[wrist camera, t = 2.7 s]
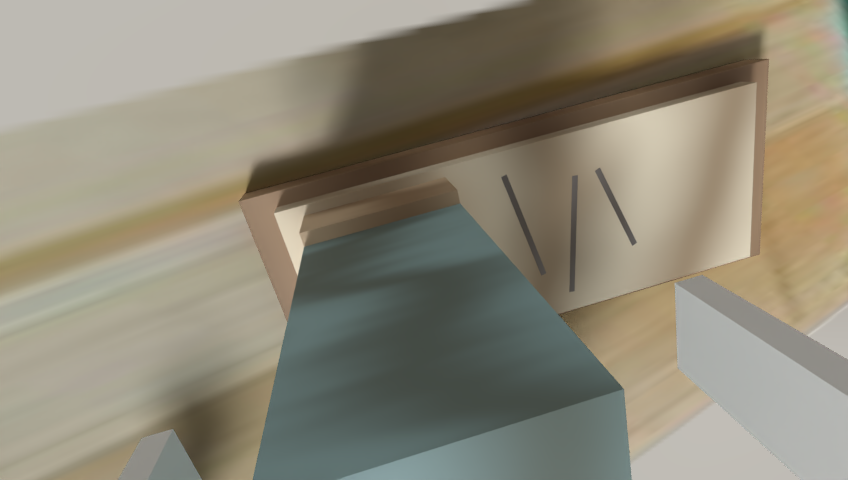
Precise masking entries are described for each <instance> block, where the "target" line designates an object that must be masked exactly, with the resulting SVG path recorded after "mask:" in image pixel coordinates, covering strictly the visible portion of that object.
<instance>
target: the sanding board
mask: <svg viewBox="0 0 848 480" xmlns="http://www.w3.org/2000/svg"><path fill="white" fill-rule="evenodd" d="M768 68H769V59H755V60H742V61H739V62H735V63H731V64H728V65H724V66H720V67H716V68H713V69H709V70H705V71H701V72H698V73H694V74H690V75H686V76H683V77H679V78H675V79H671V80H668V81H664V82H660V83H657V84H653V85H649V86H645V87H642V88H638V89H634V90H630V91H627V92H623V93H619V94H615V95H612V96H608V97H604V98H600V99H597V100H593V101H589V102H585V103H582V104H578V105H574V106H571V107H567V108H563V109H559V110H556V111H552V112H548V113H544V114H541V115H537V116H533V117H529V118H526V119H522V120H518V121H514V122H511V123H507V124H503V125H499V126H496V127H492V128H488V129H485V130H481V131H477V132H473V133H470V134H466V135H462V136H458V137H455V138H451V139H447V140H443V141H440V142H436V143H432V144H428V145H425V146H421V147H417V148H413V149H410V150H406V151H402V152H399V153H395V154H391V155H387V156H384V157H380V158H376V159H372V160H369V161H365V162H361V163H357V164H354V165H350V166H346V167H342V168H339V169H335V170H331V171H327V172H324V173H320V174H316V175H313V176H309V177H305V178H301V179H298V180H294V181H290V182H286V183H283V184H279V185H275V186H271V187H268V188H264V189H260V190H256V191H253V192H249V193H245V194H244V195H243V197H242V198H241V199H240V200H239V203H240V206H241V208H242V211H243V213H244V216H245V218H246V221H247V223H248V226H249V228H250V231H251V233H252V236H253V238H254V241H255V243H256V246H257V248H258V251H259V253H260V255H261V258H262V260H263V263H264V265H265V268H266V270H267V273H268V275H269V278H270V280H271V283H272V285H273V288H274V290H275V293H276V295H277V298H278V300H279V302H280V305H281V307H282V310H283V312H284V315H285V317H286V320H287V322H288V317H289V313H290V308H291V304H292V299H293V295H294V290H295V286H296V281H297V277H298V272H299V267H300V263H301V258H302V254H303V249H304V245H303V243H302V240H301V237H300V234H299V232H300V228H301V225H302V221H303V217H304V216H305V215H309V214H312V213H316V212H319V211H323V210H327V209H330V208H334V207H338V206H341V205H345V204H349V203H352V202H356V201H360V200H363V199H367V198H371V197H374V196H378V195H382V194H385V193H389V192H393V191H396V190H400V189H404V188H407V187H411V186H415V185H418V184H422V183H426V182H429V181H433V180H437V179H440V178H444V177H446V178H447V179H448V181H449V182H450V183H451V184H452V185H453V186H454V187H455V188H456V189H457V191H458V195H459V200H460V204H461V205H462V206H463V207H464V208H465V209H466V210H467V212H468V213H469V214H470V215H471V216H472V217H473V218H474V220H475V221H476V222H477V223H478V224H479V225H480V226H481V228H482V229H483V230H484V231H485V232H486V233H487V234H488V235H489V237H490V238H491V239H492V240H493V241H494V242H495V243H496V245H497V246H498V247H499V248H500V249H501V250H502V251H503V252H504V254H505V255H506V256H507V257H508V258H509V259H510V260H511V262H512V263H513V264H514V265H515V266H516V267H517V268H518V270H519V271H520V272H521V273H522V274H523V275H524V276H525V277H526V279H527V280H528V281H529V282H530V283H531V284H532V285H533V287H534V288H535V289H536V290H537V291H538V292H539V293H540V295H541V296H542V297H543V298H544V299H545V300H546V301H547V302H548V304H549V305H550V306H551V307H552V308H553V309H554V310H555V312H556V313H557V314H558V315H559V314H562V313H566V312H569V311H572V310H576V309H579V308H582V307H586V306H589V305H592V304H596V303H599V302H602V301H606V300H609V299H612V298H616V297H619V296H622V295H626V294H629V293H632V292H636V291H639V290H642V289H646V288H649V287H652V286H656V285H659V284H662V283H666V282H669V281H672V280H676V279H679V278H682V277H686V276H689V275H692V274H696V273H699V272H702V271H706V270H709V269H712V268H716V267H719V266H722V265H726V264H729V263H732V262H736V261H739V260H742V259H746V258H749V257H752V256H756V255H759V254H760V236H761V215H762V194H763V173H764V152H765V131H766V110H767V89H768Z"/></svg>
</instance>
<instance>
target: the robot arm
mask: <svg viewBox="0 0 848 480" xmlns="http://www.w3.org/2000/svg"><path fill="white" fill-rule="evenodd" d="M675 301H676V332H677V362H678V369H679V370H680V371H682V372H683V373H684V374H685V375H686V376H687V377H688V378H689V379H690V380H691V381H693V382H694V383H695V384H696V385H697V386H698V387H699V388H700V389H701V390H702V391H704V392H705V393H706V394H707V395H708V396H709V397H710V398H711V399H712V400H713V401H715V402H716V403H717V404H718V405H719V406H720V407H721V408H722V409H723V410H725V411H726V412H727V413H728V414H729V415H730V416H731V417H732V418H733V419H734V420H735V421H737V422H738V423H739V424H740V425H741V426H742V427H743V428H744V429H745V430H747V431H748V432H749V433H750V434H751V435H752V436H753V437H754V438H755V439H756V440H758V441H759V442H760V443H761V444H762V445H763V446H764V447H765V448H766V449H767V450H769V451H770V452H771V453H772V454H773V455H774V456H775V457H776V458H777V459H778V460H779V461H781V462H782V463H783V464H784V465H785V466H786V467H787V468H788V469H789V470H790V471H792V472H793V473H794V474H795V475H796V476H797V477H798V478H799V479H800V480H848V360H847V359H846V358H844V357H842V356H841V355H839V354H837V353H836V352H834V351H832V350H830V349H829V348H827V347H825V346H824V345H822V344H820V343H818V342H817V341H815V340H813V339H811V338H810V337H808V336H806V335H805V334H803V333H801V332H799V331H798V330H796V329H794V328H793V327H791V326H789V325H787V324H786V323H784V322H782V321H781V320H779V319H777V318H775V317H774V316H772V315H770V314H768V313H767V312H765V311H763V310H762V309H760V308H758V307H756V306H755V305H753V304H751V303H750V302H748V301H746V300H744V299H743V298H741V297H739V296H738V295H736V294H734V293H732V292H731V291H729V290H727V289H726V288H724V287H722V286H720V285H719V284H717V283H715V282H713V281H712V280H710V279H708V278H707V277H705V276H703V275H701V276H697V277H694V278H690V279H687V280H683V281H680V282H677V283H675ZM118 480H202V479H201V477H200V475H199V474H198V472H197V470H196V468H195V467H194V465H193V463H192V461H191V460H190V458H189V456H188V454H187V453H186V451H185V449H184V447H183V445H182V444H181V442H180V440H179V438H178V437H177V435H176V433H175V431H174V430H173V429H171V430H167V431H164V432H160V433H157V434H154V435H150V436H147V437H143V438H141V440H140V442H139V444H138V445H137V447H136V449H135V451H134V452H133V454H132V456H131V458H130V460H129V461H128V463H127V465H126V467H125V468H124V470H123V472H122V474H121V475H120V477H119V479H118Z"/></svg>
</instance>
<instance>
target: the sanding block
mask: <svg viewBox="0 0 848 480" xmlns="http://www.w3.org/2000/svg"><path fill="white" fill-rule="evenodd" d="M299 234H300V237H301V240H302V243H303V245H304V249H303V254H302V258H301V263H300V267H299V272H298V277H297V281H296V286H295V290H294V295H293V299H292V304H291V308H290V313H289V317H288V322H287V327H286V331H285V336H284V340H283V345H282V349H281V354H280V358H279V363H278V367H277V372H276V377H275V381H274V386H273V390H272V395H271V399H270V404H269V408H268V413H267V417H266V422H265V427H264V431H263V436H262V440H261V445H260V449H259V454H258V458H257V463H256V467H255V472H254V477H253V480H632V479H631V467H630V456H629V444H628V432H627V420H626V409H625V397H624V389H623V388H622V386H621V385H620V384H619V383H618V382H617V381H616V380H615V379H614V377H613V376H612V375H611V374H610V373H609V372H608V371H607V369H606V368H605V367H604V366H603V365H602V364H601V363H600V361H599V360H598V359H597V358H596V357H595V356H594V355H593V354H592V352H591V351H590V350H589V349H588V348H587V347H586V346H585V344H584V343H583V342H582V341H581V340H580V339H579V338H578V337H577V335H576V334H575V333H574V332H573V331H572V330H571V329H570V327H569V326H568V325H567V324H566V323H565V322H564V321H563V319H562V318H561V317H560V316H559V315H558V314H557V313H556V312H555V310H554V309H553V308H552V307H551V306H550V305H549V304H548V302H547V301H546V300H545V299H544V298H543V297H542V296H541V295H540V293H539V292H538V291H537V290H536V289H535V288H534V287H533V285H532V284H531V283H530V282H529V281H528V280H527V279H526V277H525V276H524V275H523V274H522V273H521V272H520V271H519V270H518V268H517V267H516V266H515V265H514V264H513V263H512V262H511V260H510V259H509V258H508V257H507V256H506V255H505V254H504V252H503V251H502V250H501V249H500V248H499V247H498V246H497V245H496V243H495V242H494V241H493V240H492V239H491V238H490V237H489V235H488V234H487V233H486V232H485V231H484V230H483V229H482V228H481V226H480V225H479V224H478V223H477V222H476V221H475V220H474V218H473V217H472V216H471V215H470V214H469V213H468V212H467V210H466V209H465V208H464V207H463V206H462V205H461V204H460V200H459V195H458V191H457V189H456V188H455V187H454V186H453V185H452V184H451V183H450V182H449V181H448V179H447V178H446V177H444V178H440V179H437V180H433V181H429V182H426V183H422V184H418V185H415V186H411V187H407V188H404V189H400V190H396V191H393V192H389V193H385V194H382V195H378V196H374V197H371V198H367V199H363V200H360V201H356V202H352V203H349V204H345V205H341V206H338V207H334V208H330V209H327V210H323V211H319V212H316V213H312V214H309V215H305V216H304V217H303V221H302V225H301V228H300V232H299Z"/></svg>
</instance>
